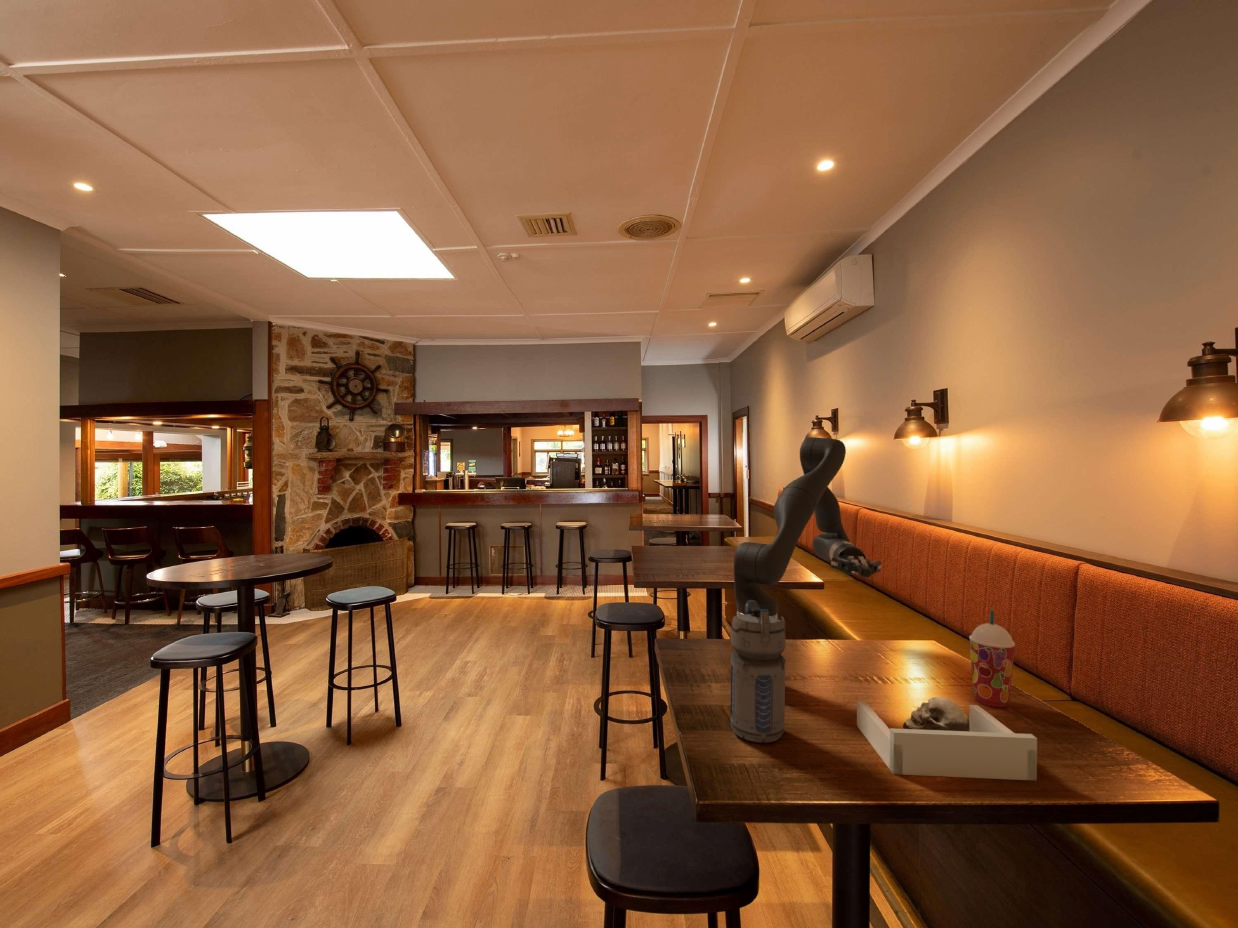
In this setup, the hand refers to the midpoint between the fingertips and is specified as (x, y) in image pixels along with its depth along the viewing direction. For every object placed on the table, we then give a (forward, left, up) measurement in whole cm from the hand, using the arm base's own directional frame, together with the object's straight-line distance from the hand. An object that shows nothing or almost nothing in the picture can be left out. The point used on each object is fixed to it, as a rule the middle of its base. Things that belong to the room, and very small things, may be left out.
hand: (866, 573), depth 137 cm
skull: (+3, -28, -26) cm, 39 cm away
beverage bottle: (-31, -29, -26) cm, 50 cm away
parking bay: (+1, -33, -26) cm, 42 cm away
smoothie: (+23, -11, -26) cm, 36 cm away
